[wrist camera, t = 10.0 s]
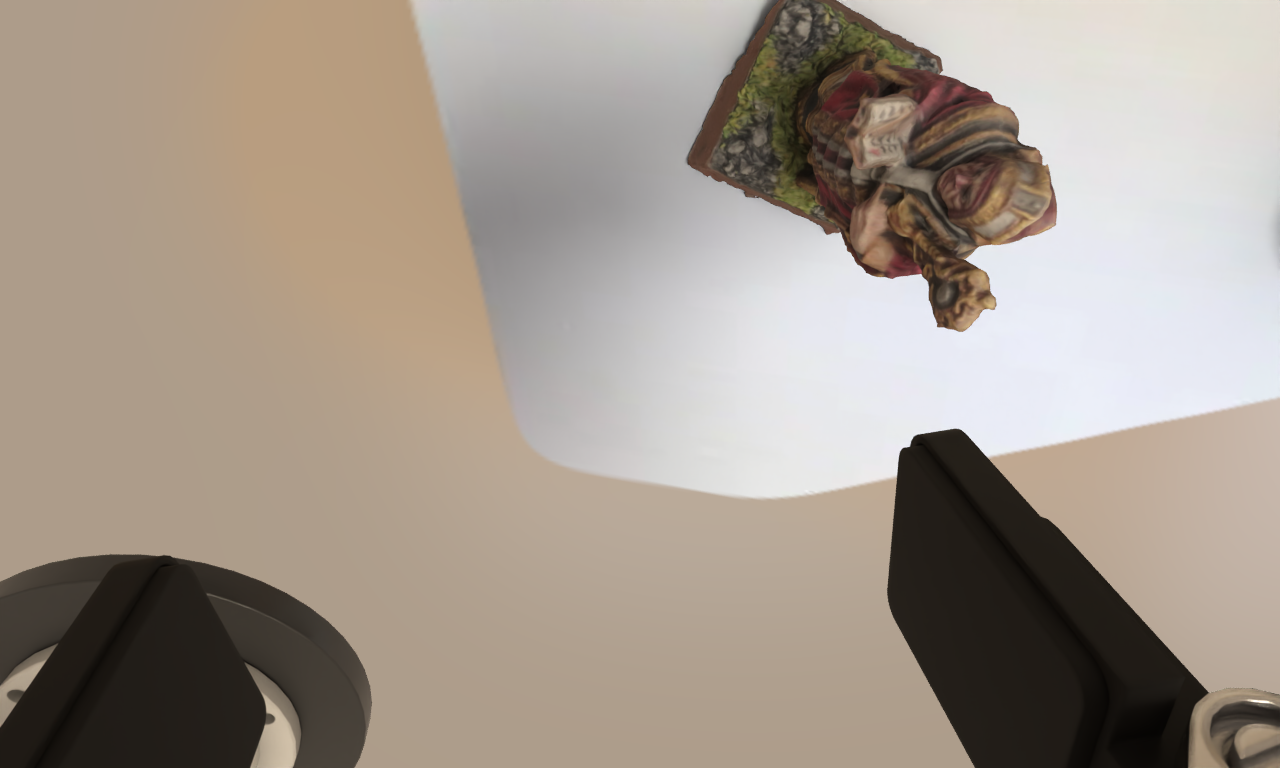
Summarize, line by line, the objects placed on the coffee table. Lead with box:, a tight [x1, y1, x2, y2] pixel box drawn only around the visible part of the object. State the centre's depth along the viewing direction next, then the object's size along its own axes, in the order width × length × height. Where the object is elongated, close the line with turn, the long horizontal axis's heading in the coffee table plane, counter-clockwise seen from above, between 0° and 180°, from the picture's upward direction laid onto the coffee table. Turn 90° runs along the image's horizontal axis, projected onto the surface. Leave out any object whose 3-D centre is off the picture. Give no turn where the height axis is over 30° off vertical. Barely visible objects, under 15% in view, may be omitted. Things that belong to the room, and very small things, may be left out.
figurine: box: [688, 0, 1057, 332], centre depth 20 cm, size 6×6×12 cm
